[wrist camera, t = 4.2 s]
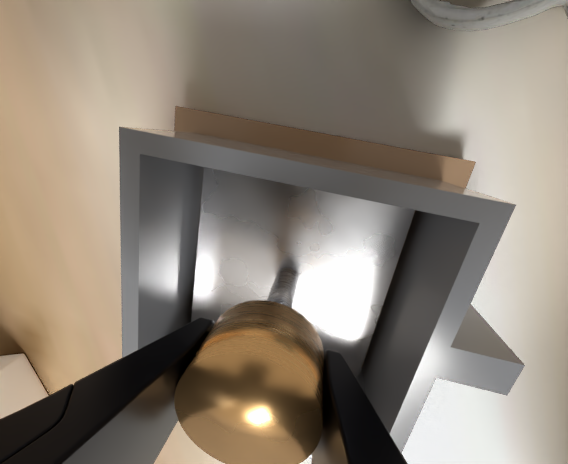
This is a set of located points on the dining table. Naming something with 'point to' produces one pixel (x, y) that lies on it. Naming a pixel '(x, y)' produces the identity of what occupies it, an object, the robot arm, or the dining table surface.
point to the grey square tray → (339, 180)
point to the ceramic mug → (482, 13)
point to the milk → (18, 384)
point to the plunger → (280, 310)
